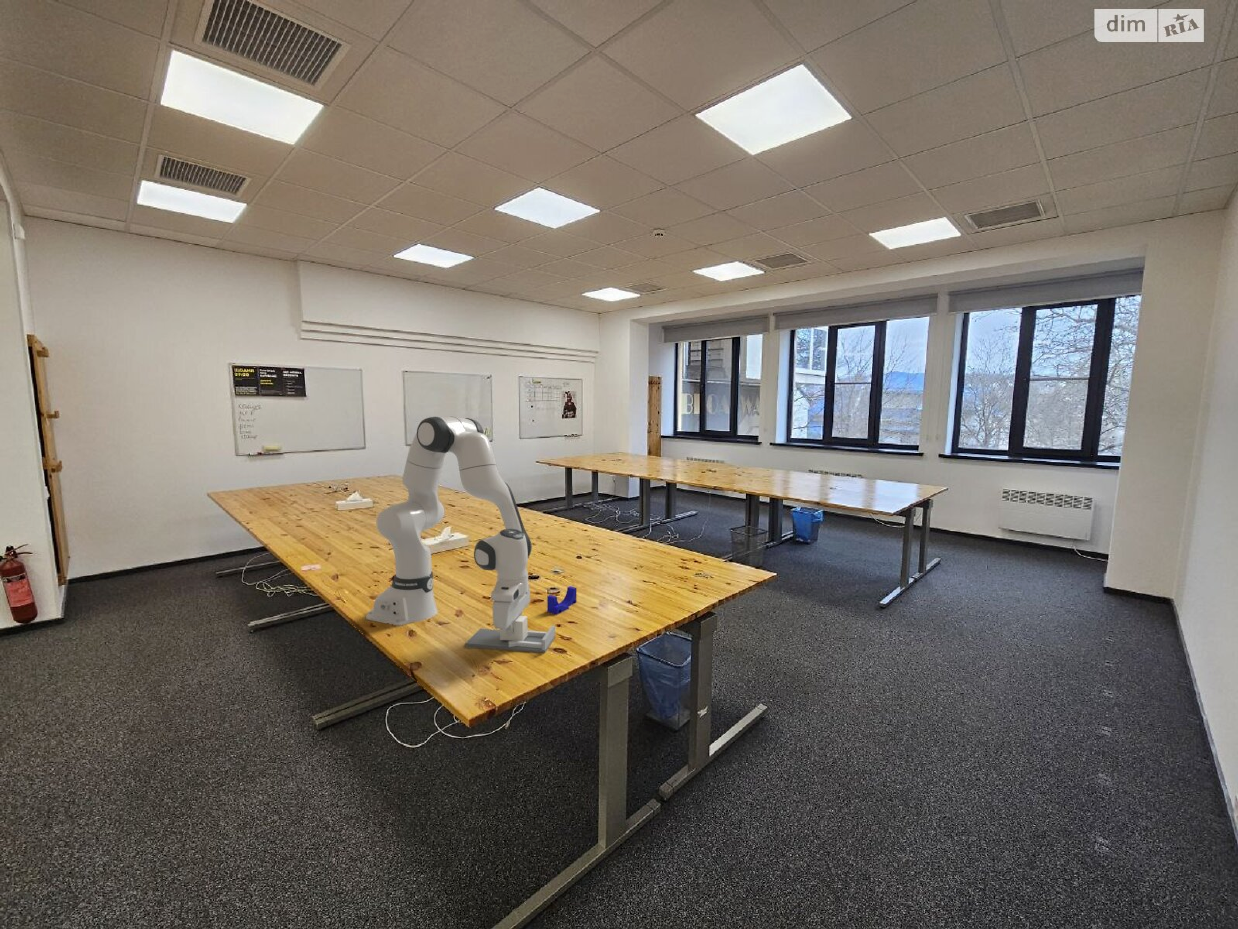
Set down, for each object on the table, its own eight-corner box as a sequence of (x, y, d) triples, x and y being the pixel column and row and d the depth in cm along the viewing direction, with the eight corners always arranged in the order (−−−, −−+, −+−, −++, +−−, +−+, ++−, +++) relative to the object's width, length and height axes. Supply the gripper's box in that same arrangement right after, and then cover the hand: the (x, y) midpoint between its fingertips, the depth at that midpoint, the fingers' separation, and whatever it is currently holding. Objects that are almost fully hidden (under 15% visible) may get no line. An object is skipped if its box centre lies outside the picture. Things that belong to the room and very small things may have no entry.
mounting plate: (465, 647, 145) (465, 633, 145) (480, 632, 155) (480, 619, 155) (545, 654, 141) (544, 640, 141) (555, 638, 151) (555, 625, 151)
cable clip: (557, 616, 169) (557, 599, 168) (547, 613, 171) (547, 596, 170) (579, 605, 178) (579, 588, 178) (570, 602, 181) (570, 586, 180)
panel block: (499, 639, 146) (499, 620, 146) (505, 633, 150) (504, 614, 150) (522, 641, 145) (522, 621, 145) (527, 635, 149) (527, 616, 149)
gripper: (515, 573, 157) (516, 615, 158) (488, 597, 137) (489, 645, 138) (534, 574, 156) (535, 617, 157) (510, 598, 136) (510, 647, 137)
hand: (513, 630), depth 148 cm, fingers closed on panel block, 4 cm apart
